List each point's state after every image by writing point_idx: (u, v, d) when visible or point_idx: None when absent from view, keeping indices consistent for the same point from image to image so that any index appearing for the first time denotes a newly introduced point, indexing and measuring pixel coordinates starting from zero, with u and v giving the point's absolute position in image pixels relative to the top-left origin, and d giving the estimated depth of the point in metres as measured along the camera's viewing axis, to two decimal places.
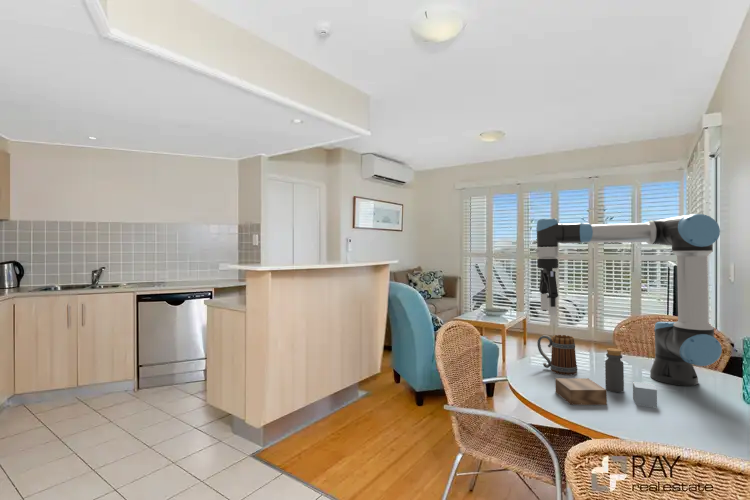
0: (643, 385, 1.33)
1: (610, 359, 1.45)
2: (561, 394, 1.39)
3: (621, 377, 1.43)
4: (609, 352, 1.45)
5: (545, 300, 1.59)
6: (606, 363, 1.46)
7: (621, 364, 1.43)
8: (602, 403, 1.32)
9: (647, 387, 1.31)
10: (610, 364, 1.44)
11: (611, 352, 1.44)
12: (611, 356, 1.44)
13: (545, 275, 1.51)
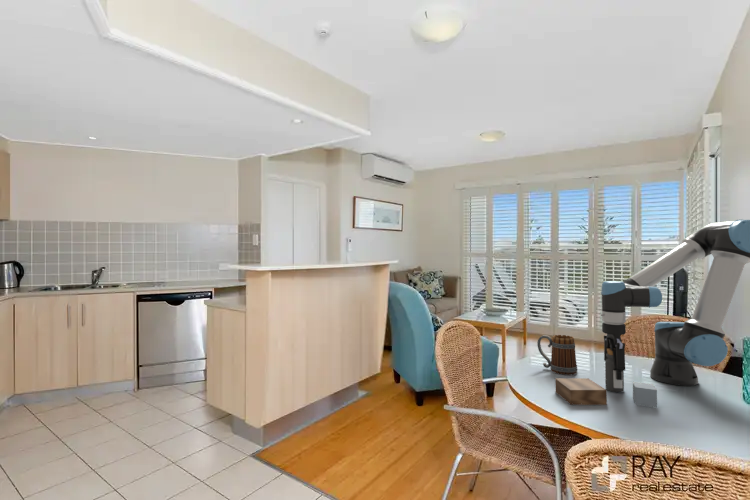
0: (643, 385, 1.33)
1: (610, 359, 1.45)
2: (561, 394, 1.39)
3: None
4: (609, 352, 1.45)
5: None
6: (606, 363, 1.46)
7: None
8: (602, 403, 1.32)
9: (647, 387, 1.31)
10: (610, 364, 1.44)
11: (611, 352, 1.44)
12: (611, 356, 1.44)
13: (612, 342, 1.44)
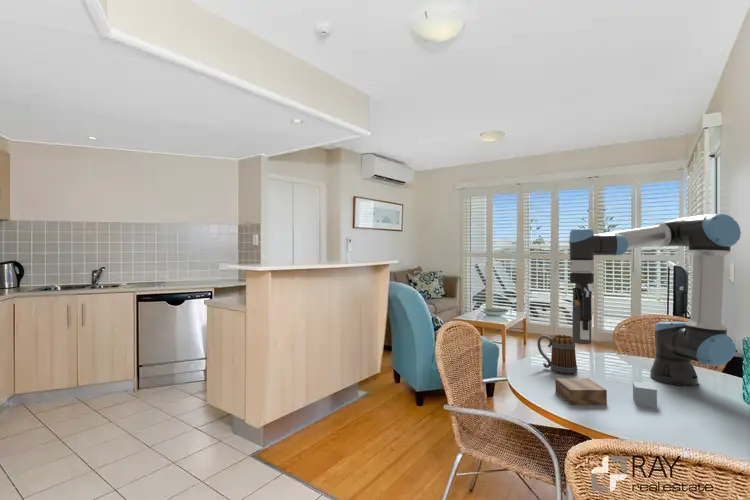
0: (643, 385, 1.33)
1: (577, 310, 1.38)
2: (561, 394, 1.39)
3: None
4: (576, 302, 1.38)
5: None
6: (573, 314, 1.39)
7: None
8: (602, 403, 1.32)
9: (647, 387, 1.31)
10: (577, 315, 1.37)
11: (578, 302, 1.38)
12: (578, 306, 1.37)
13: (579, 292, 1.37)
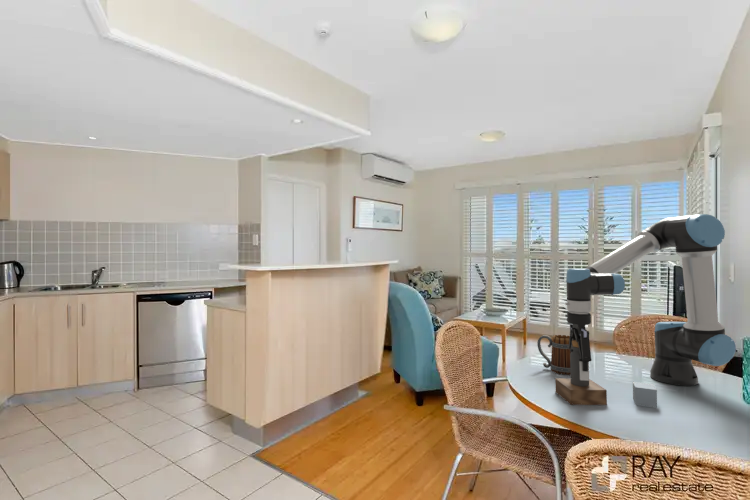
0: (643, 385, 1.33)
1: (575, 351, 1.37)
2: (561, 394, 1.39)
3: None
4: (574, 344, 1.38)
5: None
6: (571, 356, 1.38)
7: None
8: (602, 403, 1.32)
9: (647, 387, 1.31)
10: (575, 357, 1.36)
11: (576, 344, 1.37)
12: (576, 348, 1.37)
13: (576, 332, 1.36)
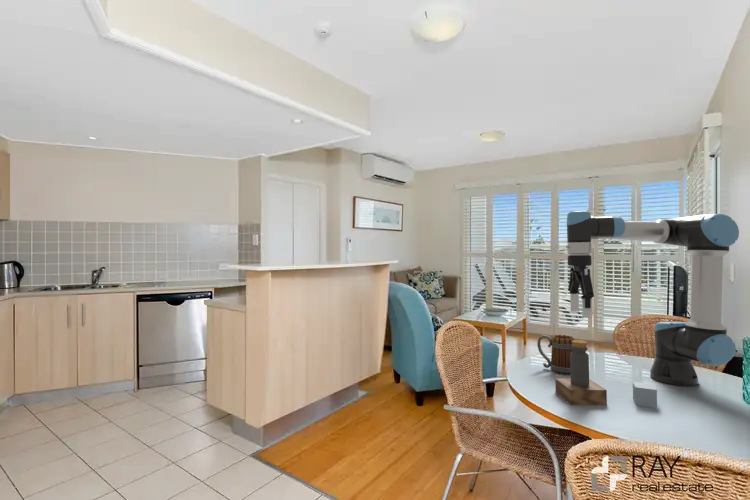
0: (643, 385, 1.33)
1: (575, 351, 1.37)
2: (561, 394, 1.39)
3: (586, 370, 1.35)
4: (574, 344, 1.38)
5: (575, 301, 1.45)
6: (571, 356, 1.38)
7: (586, 357, 1.35)
8: (602, 403, 1.32)
9: (647, 387, 1.31)
10: (575, 357, 1.36)
11: (576, 344, 1.37)
12: (576, 348, 1.37)
13: (577, 273, 1.37)
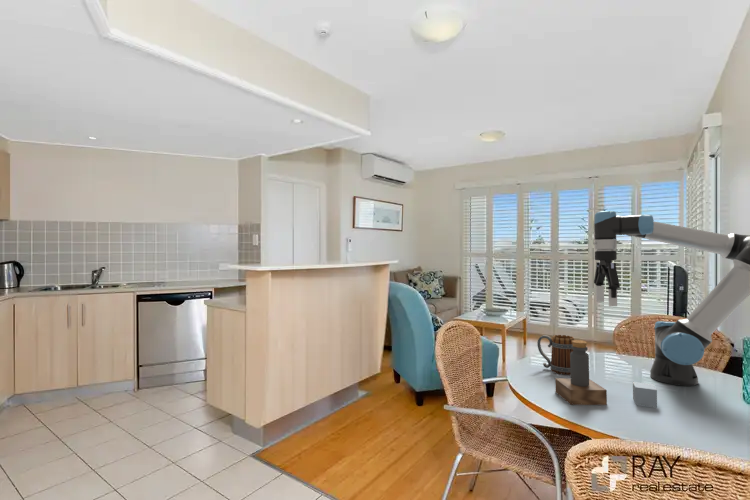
0: (643, 385, 1.33)
1: (575, 351, 1.37)
2: (561, 394, 1.39)
3: (586, 370, 1.35)
4: (574, 344, 1.37)
5: (601, 292, 1.62)
6: (571, 356, 1.38)
7: (586, 357, 1.35)
8: (602, 403, 1.32)
9: (647, 387, 1.31)
10: (575, 357, 1.36)
11: (576, 344, 1.37)
12: (576, 348, 1.37)
13: (604, 267, 1.54)
